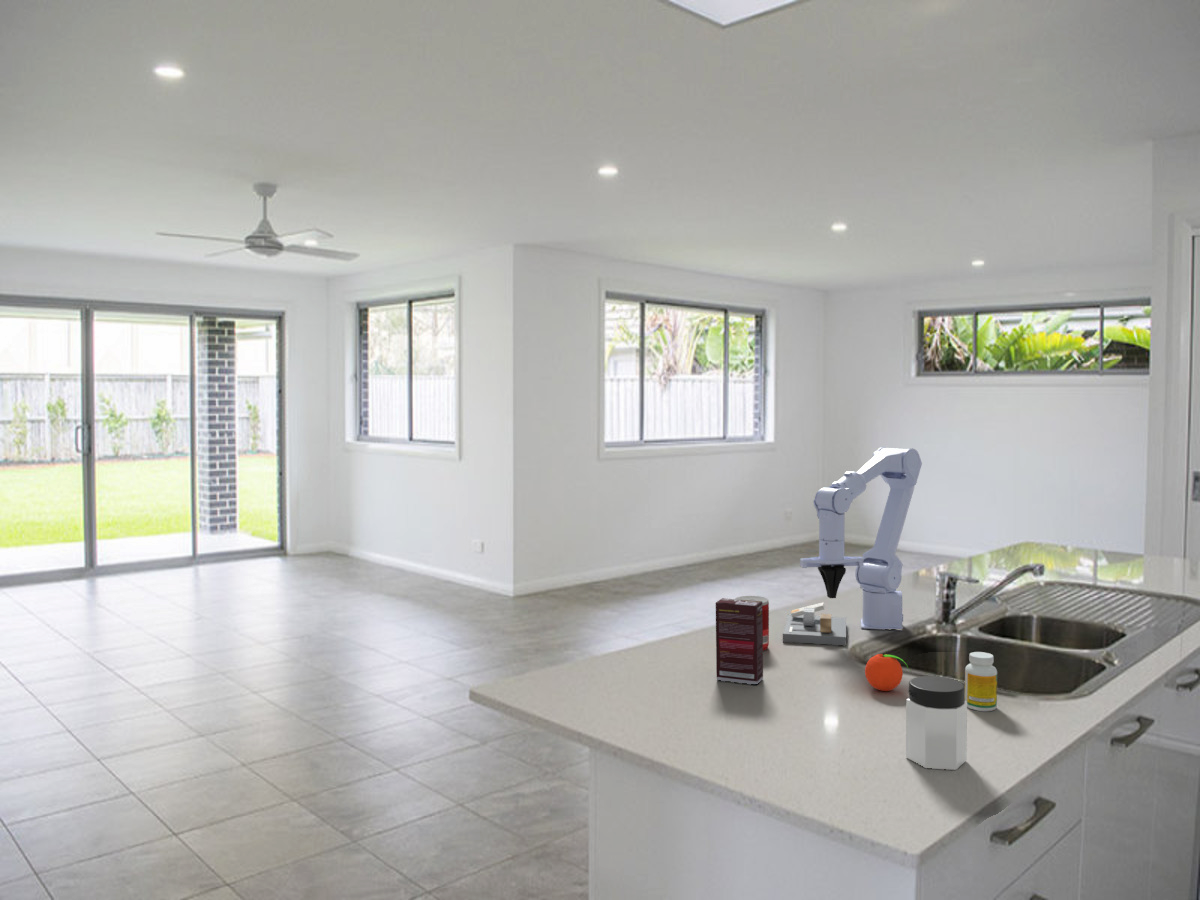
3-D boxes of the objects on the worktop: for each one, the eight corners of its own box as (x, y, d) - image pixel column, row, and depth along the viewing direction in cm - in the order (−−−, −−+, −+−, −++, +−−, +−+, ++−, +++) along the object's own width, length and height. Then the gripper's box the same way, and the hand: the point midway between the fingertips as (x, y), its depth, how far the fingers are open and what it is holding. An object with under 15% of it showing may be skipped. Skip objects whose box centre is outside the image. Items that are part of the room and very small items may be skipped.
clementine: (907, 686, 177) (907, 650, 177) (909, 697, 171) (909, 660, 170) (864, 683, 180) (864, 647, 179) (864, 694, 173) (865, 657, 172)
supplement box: (763, 679, 183) (763, 600, 182) (757, 686, 178) (757, 605, 177) (722, 674, 186) (722, 597, 185) (715, 681, 182) (714, 602, 181)
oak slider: (831, 627, 213) (831, 614, 212) (831, 632, 208) (831, 618, 208) (820, 627, 213) (820, 613, 213) (820, 632, 209) (820, 618, 209)
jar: (920, 744, 148) (921, 671, 147) (972, 757, 143) (973, 681, 142) (898, 762, 141) (899, 685, 140) (952, 775, 136) (953, 696, 135)
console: (846, 625, 224) (846, 612, 224) (846, 645, 206) (846, 631, 206) (787, 622, 228) (787, 609, 228) (782, 642, 210) (782, 628, 209)
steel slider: (814, 621, 219) (814, 608, 219) (813, 625, 215) (813, 612, 215) (804, 620, 220) (804, 607, 219) (803, 625, 215) (803, 611, 215)
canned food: (767, 643, 209) (767, 595, 208) (770, 653, 201) (770, 603, 201) (733, 642, 210) (733, 595, 209) (735, 652, 202) (735, 603, 201)
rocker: (824, 605, 224) (823, 601, 224) (824, 609, 220) (823, 605, 220) (793, 613, 226) (791, 609, 226) (792, 617, 222) (790, 613, 222)
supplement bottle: (959, 702, 168) (960, 650, 167) (989, 701, 168) (989, 650, 167) (971, 712, 162) (972, 659, 162) (1002, 711, 162) (1002, 658, 162)
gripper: (855, 535, 217) (855, 592, 218) (795, 537, 215) (795, 594, 216) (867, 540, 210) (866, 599, 211) (805, 542, 208) (805, 601, 209)
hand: (831, 597), depth 213 cm, fingers closed
